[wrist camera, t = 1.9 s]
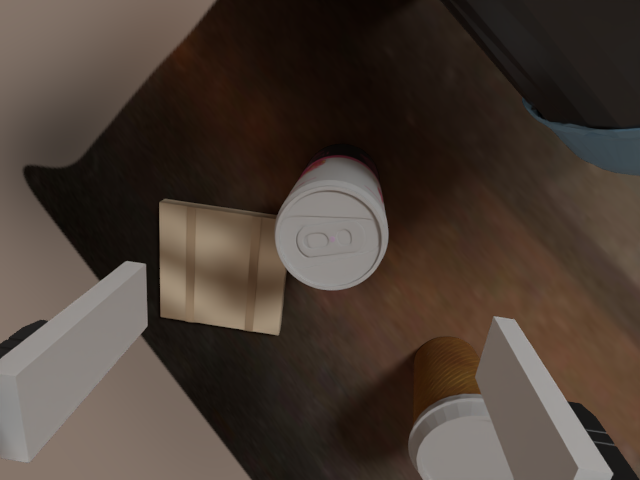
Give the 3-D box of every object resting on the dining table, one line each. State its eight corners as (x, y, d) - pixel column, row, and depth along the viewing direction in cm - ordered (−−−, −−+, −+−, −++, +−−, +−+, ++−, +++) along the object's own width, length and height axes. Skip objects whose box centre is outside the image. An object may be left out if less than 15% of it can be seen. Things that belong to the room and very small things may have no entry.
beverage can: (298, 148, 37) (261, 190, 23) (374, 138, 37) (383, 175, 23) (310, 220, 40) (282, 297, 26) (382, 212, 39) (394, 287, 25)
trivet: (164, 198, 40) (158, 202, 39) (292, 217, 40) (289, 221, 38) (165, 310, 44) (160, 317, 43) (280, 328, 44) (278, 335, 43)
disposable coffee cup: (380, 376, 45) (387, 475, 34) (429, 306, 42) (454, 390, 30) (459, 414, 46) (491, 523, 35) (514, 348, 42) (568, 445, 31)
